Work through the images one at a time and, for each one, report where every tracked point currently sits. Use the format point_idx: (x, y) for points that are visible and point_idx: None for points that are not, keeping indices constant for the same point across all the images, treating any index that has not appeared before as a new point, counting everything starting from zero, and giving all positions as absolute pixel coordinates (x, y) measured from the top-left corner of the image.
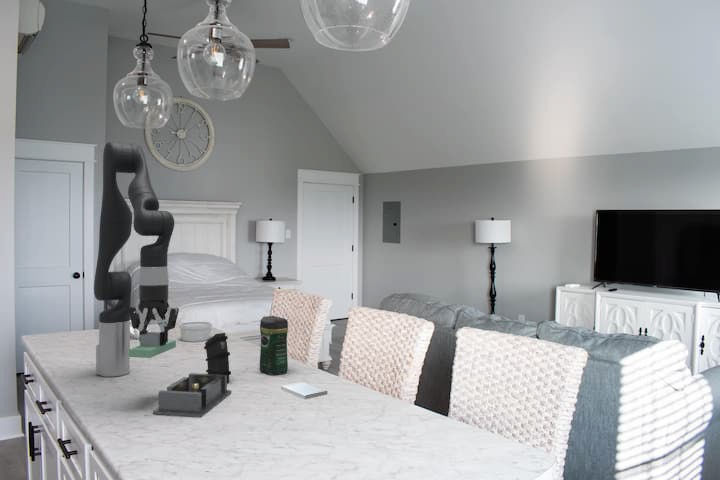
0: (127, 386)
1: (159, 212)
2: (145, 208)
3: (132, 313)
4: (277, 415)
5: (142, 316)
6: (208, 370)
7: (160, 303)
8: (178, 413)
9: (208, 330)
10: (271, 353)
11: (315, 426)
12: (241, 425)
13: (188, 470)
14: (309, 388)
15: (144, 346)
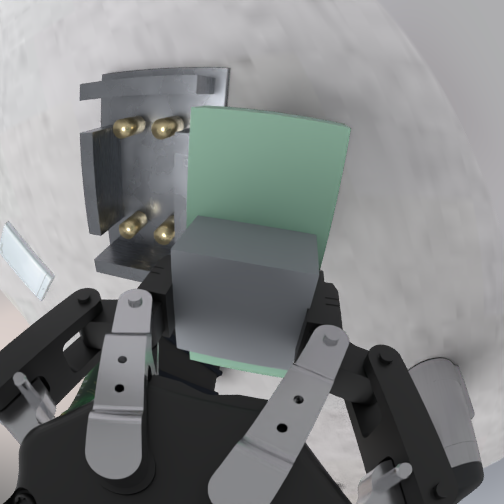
0: (388, 304)
1: None
2: None
3: (420, 457)
4: (8, 129)
5: (302, 425)
6: (210, 368)
7: (46, 500)
8: (155, 69)
9: None
10: (92, 384)
11: None
12: (35, 61)
13: None
14: (16, 262)
15: (282, 223)
